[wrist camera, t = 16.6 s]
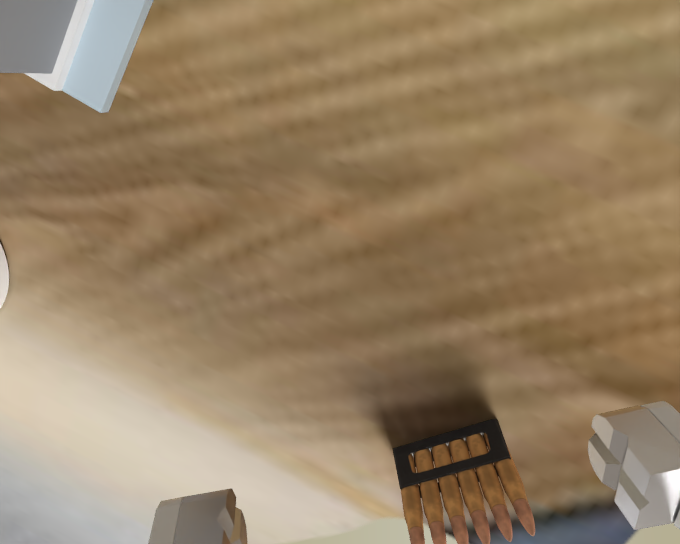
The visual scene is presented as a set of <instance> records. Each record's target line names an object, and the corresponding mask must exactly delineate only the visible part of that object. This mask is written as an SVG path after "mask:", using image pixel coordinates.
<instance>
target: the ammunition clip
mask: <svg viewBox="0 0 680 544" xmlns="http://www.w3.org/2000/svg"><path fill="white" fill-rule="evenodd" d="M487 447H488V449H489V451H488V449H487ZM469 452H470V454H469ZM393 453H394V459H395V464H396V469H397V474H398V480H399V485H400V489H401V494H402V502H403V509H404V516H405V520H406V523H407V526H408V531H409V535H410V541H411V544H425V541H424V540H425V539H424V530H423V511H422V505H421V499H420V498H422V501H423V507H424V512H425V515H426V518H427V520H428V524H429V528H430V531H431V536H432V540H433V543H434V544H446V534H445V528H444V521H443V507H442V502H441V497H440V492H441V494H442V498H443V503H444V507H445V510H446V512H447V514H448V516H449V520H450V523H451V526H452V530H453V533H454V536H455V539H456V541H457V543H458V544H468V532H467V526H466V522H465V516H464V506H463V500H462V497H461V493H460V489H459V487H460V488H461V492H462V495H463V499H464V502H465V504H466V506H467V508H468V510H469V513H470V516H471V518H472V521H473V525H474V527H475V530H476V532H477V534H478V536H479V538H480V540H481V541H482V543H483V544H490V531H489V525H488V520H487V517H486V512H485V508H484V501H483V495H482V492H481V489H480V486H479V483H478V482H480V485H481V488H482V491H483V494H484V497H485V499H486V500H487V502H488V504H489V506H490V509H491V511H492V513H493V516H494V519H495V521H496V523H497V525H498V527H499V529H500V531H501V532H502V534H503V535H504V537H505V538H506V539H507V540H508V541H509V542H511V541H512V526H511V521H510V517H509V513H508V511H507V506H506V503H505V500H504V493H503V489H502V487H501V484H500V481H499V478H500V480H501V483H502V486H503V488H504V491H505V493H506V494H507V496H508V497H509V499H510V501H511V503H512V505H513V507H514V509H515V512H516V514H517V516H518V518H519V520H520V522H521V523H522V525H523V526H524V528H525V529H526V530H527V532H528V533H529V534H530V535H532V536H534V535H535V525H534V519H533V515H532V512H531V509H530V506H529V504H528V500H527V497H526V495H525V489H524V485H523V483H522V480H521V478H520V476H519V473H518V471H517V469H516V466H515V464H514V461H513V459H512V457H511V454H510V452H509V450H508V447H507V445H506V442H505V440H504V437H503V434H502V431H501V428H500V425H499V423H498V420H497V419H491V420H488V421H485V422H481V423H478V424H474V425H471V426H468V427H464V428H461V429H457V430H454V431H451V432H447V433H444V434H441V435H437V436H434V437H430V438H427V439H424V440H420V441H417V442H413V443H410V444H407V445H403V446H400V447H397V448H393ZM470 455H471V457H470ZM451 456H452V459H451ZM452 460H453V462H452ZM433 461H434V464H435V468H434V464H433ZM493 463H494V465H493ZM415 467H416V468H417V473H416V468H415ZM474 468H475V470H476V472H475V470H474ZM455 473H456V474H457V477H456V474H455ZM498 476H499V478H498ZM437 478H438V481H439V482H438V483H437ZM418 484H419V485H420V486H419V485H418Z"/></svg>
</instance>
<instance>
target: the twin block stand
mask: <svg viewBox="0 0 680 544" xmlns="http://www.w3.org/2000/svg"><path fill="white" fill-rule="evenodd" d="M152 2H153V0H0V73H24V74H26V75H28V76H30V77H31V78H33V79H35V80H36V81H38V82H40V83H42V84H43V85H45V86H47V87H49V88H50V89H52V90H54V91H60V90H62V91H64V92H66V93H67V94H69V95H71V96H72V97H74V98H76V99H78V100H79V101H81V102H83V103H85V104H86V105H88V106H90V107H91V108H93V109H95V110H97V111H98V112H100V113H104V112H109V109H110V107H111V104H112V102H113V99H114V97H115V94H116V92H117V89H118V87H119V84H120V82H121V79H122V77H123V74H124V72H125V69H126V67H127V64H128V62H129V59H130V57H131V54H132V52H133V49H134V47H135V44H136V42H137V39H138V37H139V34H140V32H141V29H142V27H143V25H144V22H145V20H146V17H147V15H148V12H149V10H150V7H151V5H152Z"/></svg>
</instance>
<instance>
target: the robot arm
mask: <svg viewBox="0 0 680 544" xmlns="http://www.w3.org/2000/svg"><path fill="white" fill-rule="evenodd" d="M8 286H9V271H8V264H7V260H6V256H5V253H4V250H3V248H2V246H1V243H0V308H1V307H2V305H3V303H4V301H5V299H6V295H7V292H8ZM592 428H593V429H594V430H595V432H596V433H595V434H594V435H593V436H592V437H591V438H590V439H589V444H588V453H589V458H590V462H591V464H592V467H593V469H594V471H595V473H596V474H597V476H598V477H599V479H600V480H601V482H602V483H603V484H605V485H607V486H609V487H610V488H612V489H614V490H615V503H616V504H617V505H618V507H619V508H620V510H621V511H622V513H623V514H624V516H625V517H626V519H627V520H628V521H629V523H630V524H631V526H632V527H633V529H634V530H637V529H642V528H648V527H653V526H659V525H665V524H670V523H674V525H675V526H676V527H677V528H679V529H680V414H679V413H678V412H677V411H676V410H675V409H674V408H673V407H672V406H671V405H670V404H668V403H667V402H665V401H661V402H655V403H651V404H646V405H642V406H633V407H629V408H624V409H619V410H615V411H610V412H606V413H601V414H597V415H596V416H595V417H594V418H593V421H592ZM235 506H236V496H235V494H234V492H233V490H232V489H226V490H220V491H215V492H209V493H203V494H198V495H192V496H186V497H180V498H175V499H170V500H165V501H161V502H160V504H159V506H158V508H157V509H156V513H155V517H154V522H153V526H152V530H151V535H150V539H149V543H148V544H247V531H246V524H245V520H244V516H243V513H242V511H241V510H240V509H238V508H236V507H235Z"/></svg>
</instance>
